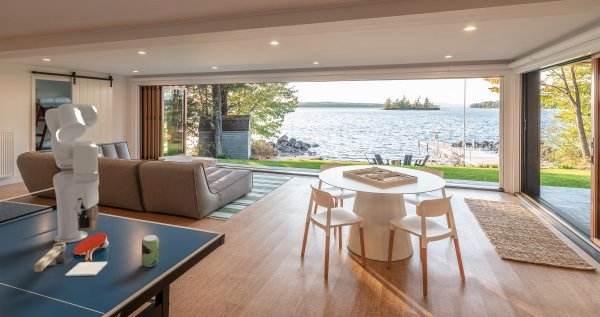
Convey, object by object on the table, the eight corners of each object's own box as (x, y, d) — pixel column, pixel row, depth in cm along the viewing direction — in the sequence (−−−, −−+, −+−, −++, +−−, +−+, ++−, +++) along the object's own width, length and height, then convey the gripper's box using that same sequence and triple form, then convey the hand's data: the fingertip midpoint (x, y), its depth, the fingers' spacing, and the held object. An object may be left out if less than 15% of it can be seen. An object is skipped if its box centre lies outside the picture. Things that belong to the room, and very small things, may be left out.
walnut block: (84, 226, 124) (83, 205, 123) (98, 226, 124) (98, 205, 123) (77, 230, 119) (76, 209, 118) (92, 230, 119) (91, 209, 118)
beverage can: (155, 260, 133) (154, 231, 131) (162, 266, 128) (161, 236, 126) (138, 264, 128) (138, 235, 127) (145, 271, 123) (145, 240, 122)
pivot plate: (56, 259, 130) (56, 258, 130) (72, 258, 131) (72, 258, 131) (47, 265, 124) (47, 265, 124) (64, 265, 125) (64, 264, 125)
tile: (79, 263, 127) (79, 262, 127) (107, 263, 128) (107, 261, 128) (65, 276, 117) (65, 274, 117) (95, 275, 119) (95, 273, 118)
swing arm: (56, 258, 129) (55, 243, 128) (68, 257, 130) (67, 242, 129) (31, 283, 110) (30, 265, 109) (45, 282, 111) (44, 264, 110)
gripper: (86, 173, 127) (88, 218, 129) (62, 181, 110) (64, 233, 112) (107, 173, 128) (108, 218, 130) (86, 181, 111) (88, 233, 114)
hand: (88, 224), depth 121 cm, fingers closed on walnut block, 5 cm apart
